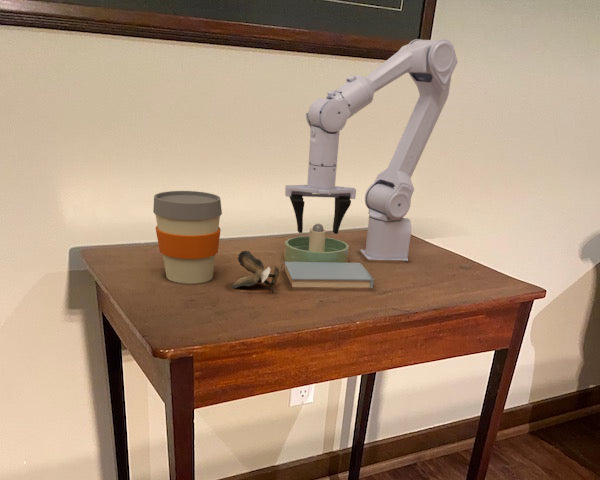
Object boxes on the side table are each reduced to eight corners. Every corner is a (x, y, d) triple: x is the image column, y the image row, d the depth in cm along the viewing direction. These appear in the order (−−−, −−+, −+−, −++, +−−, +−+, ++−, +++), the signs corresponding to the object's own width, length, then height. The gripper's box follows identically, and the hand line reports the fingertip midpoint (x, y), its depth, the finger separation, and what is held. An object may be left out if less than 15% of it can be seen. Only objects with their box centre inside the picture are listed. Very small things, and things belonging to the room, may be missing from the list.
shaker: (322, 257, 136) (324, 221, 132) (325, 262, 133) (328, 225, 129) (306, 257, 135) (308, 221, 131) (309, 262, 132) (311, 225, 128)
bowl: (339, 254, 141) (341, 236, 139) (353, 272, 129) (355, 253, 127) (280, 253, 139) (281, 235, 137) (288, 271, 127) (289, 252, 125)
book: (359, 273, 129) (360, 262, 128) (372, 290, 119) (374, 279, 118) (283, 272, 126) (284, 261, 125) (291, 289, 117) (291, 278, 116)
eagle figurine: (282, 277, 119) (238, 263, 120) (284, 253, 113) (238, 238, 113) (269, 307, 116) (224, 293, 116) (271, 284, 109) (223, 269, 110)
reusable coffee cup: (177, 263, 127) (174, 188, 120) (232, 272, 124) (233, 195, 117) (144, 280, 117) (138, 198, 109) (203, 290, 113) (202, 207, 106)
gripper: (289, 166, 120) (286, 236, 126) (362, 169, 122) (355, 237, 129) (285, 160, 126) (282, 227, 132) (354, 163, 128) (347, 229, 135)
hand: (317, 232), depth 131 cm, fingers open, 7 cm apart
